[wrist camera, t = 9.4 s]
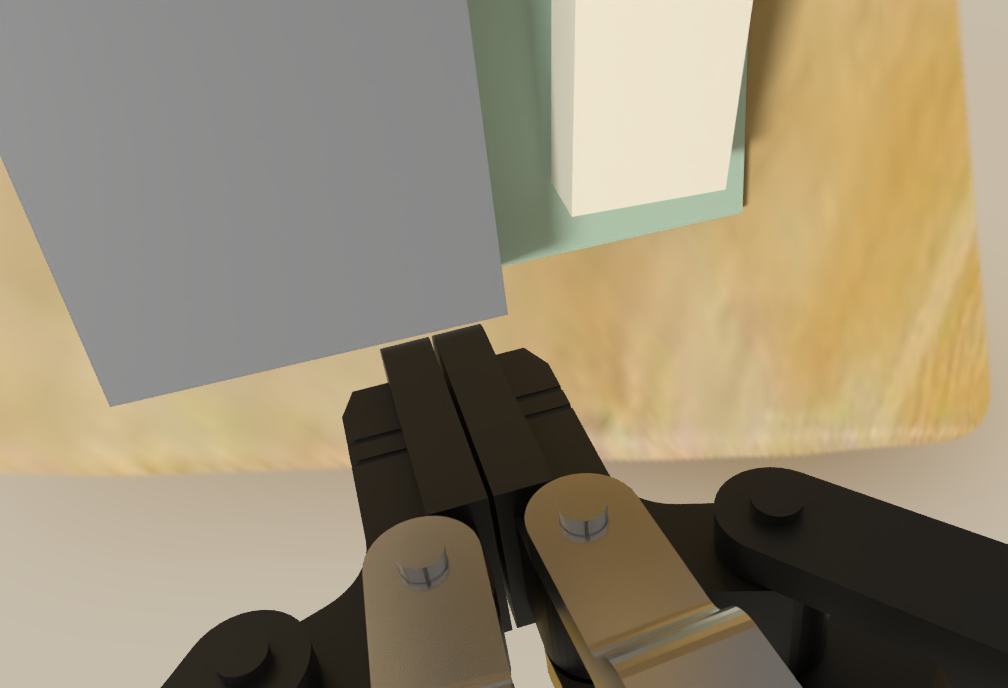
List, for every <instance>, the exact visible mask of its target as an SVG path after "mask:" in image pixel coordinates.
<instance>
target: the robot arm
mask: <svg viewBox="0 0 1008 688" xmlns="http://www.w3.org/2000/svg"><path fill="white" fill-rule="evenodd" d="M432 341H433V347H434V349H433V347H432V344H431V341H430V339H429V337H427V338H423V339H419V340H415V341H411V342H407V343H403V344H399V345H395V346H391V347H387V348H383V349H380V351H381V356H382V360H383V364H384V368H385V372H386V376H387V381H388V383H385V384H382V385H378V386H374V387H370V388H366V389H362V390H358V391H354V392H352V395H351V397H350V400H349V402H348V405H347V407H346V409H345V412H344V414H343V417H342V419H343V424H344V429H345V434H346V440H347V444H348V450H349V455H350V460H351V465H352V471H353V476H354V481H355V486H356V491H357V497H358V502H359V507H360V513H361V517H362V523H363V527H364V533H365V538H366V547H367V552H366V556H365V559H364V563H363V567H362V569H361V571H360V573H359V575H358V577H357V578H356V580H355V581H354V583H353V584H352V585H351V586H350V587H349V588H348V589H347V590H346V591H345V592H344V593H343V594H342V595H341V596H340V597H339V598H337V599H336V600H335V601H333V602H332V603H330V604H329V605H327V606H326V607H324V608H323V609H321V610H319V611H318V612H316V613H314V614H312V615H311V616H309V617H307V618H306V619H304V620H302V621H300V622H299V621H298V620H297V619H295V618H294V617H292V616H291V615H288V614H286V613H283V612H279V611H274V610H259V611H251V612H247V613H243V614H240V615H237V616H235V617H232V618H229V619H228V620H226V621H224V622H222V623H220V624H219V625H217V626H216V627H214V628H213V629H211V630H210V631H209V632H208V633H206V634H205V635H204V636H203V637H202V638H201V639H200V640H199V641H198V642H197V643H196V644H195V646H194V647H193V648H192V649H191V651H190V652H189V653H188V654H187V655H186V657H185V658H184V659H183V660H182V662H181V663H180V664H179V666H178V667H177V668H176V669H175V671H174V672H173V673H172V675H171V676H170V677H169V678H168V679H167V681H166V682H165V683H164V684H163V686H162V687H161V688H515V687H514V684H513V683H512V678H511V666H510V661H509V655H508V650H507V645H506V640H505V635H504V632H507V631H510V630H512V625H511V620H510V614H509V609H508V603H507V600H508V602H509V605H510V608H511V611H512V614H513V617H514V620H515V623H516V626H517V628H519V627H522V626H526V625H529V624H532V623H536V625H537V628H538V630H539V633H540V636H541V639H542V641H543V644H544V648H545V654H546V660H547V667H548V673H549V675H550V678H551V681H552V683H553V685H554V687H555V688H1008V544H1005V543H1002V542H999V541H996V540H994V539H991V538H988V537H985V536H982V535H979V534H976V533H973V532H971V531H968V530H965V529H962V528H959V527H956V526H953V525H950V524H948V523H945V522H942V521H939V520H936V519H933V518H930V517H927V516H924V515H922V514H919V513H916V512H913V511H910V510H907V509H904V508H902V507H899V506H896V505H893V504H890V503H887V502H884V501H881V500H878V499H875V498H873V497H870V496H867V495H864V494H861V493H858V492H855V491H852V490H850V489H847V488H844V487H841V486H838V485H835V484H832V483H830V482H827V481H824V480H821V479H818V478H815V477H812V476H809V475H806V474H804V473H801V472H797V471H794V470H790V469H784V468H774V467H772V468H771V467H766V468H756V469H752V470H748V471H744V472H741V473H739V474H737V475H735V476H733V477H732V478H730V479H729V480H728V481H726V482H725V483H724V484H723V485H722V486H721V488H720V489H719V491H718V492H717V494H716V498H715V501H714V503H706V504H663V503H656V502H652V501H648V500H644V499H642V498H639V497H638V496H637V495H636V494H635V492H633V490H632V489H631V488H630V487H628V486H627V485H626V484H624V483H623V482H621V481H619V480H617V479H615V478H612V477H610V475H609V474H608V472H607V470H606V469H605V466H604V465H603V463H602V461H601V459H600V457H599V456H598V454H597V452H596V450H595V448H594V446H593V445H592V443H591V441H590V439H589V437H588V435H587V434H586V432H585V430H584V428H583V426H582V425H581V423H580V421H579V419H578V417H577V415H576V414H575V412H574V410H573V408H571V406H570V403H569V401H568V399H567V397H566V395H565V393H564V392H563V390H561V387H560V384H559V383H558V381H557V379H556V377H555V375H554V373H553V372H552V370H551V368H550V366H549V364H548V363H546V362H545V361H543V360H542V359H540V358H539V357H537V356H536V355H534V354H533V353H531V352H530V351H528V350H526V349H525V348H521V349H517V350H513V351H509V352H505V353H501V354H498V355H496V354H495V352H494V350H493V348H492V346H491V344H490V342H489V339H488V337H487V335H486V333H485V331H484V329H483V327H482V325H481V324H478V325H474V326H470V327H466V328H462V329H458V330H454V331H450V332H446V333H442V334H438V335H434V336H432ZM506 597H507V598H506Z"/></svg>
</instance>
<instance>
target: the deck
mask: <svg viewBox="0 0 1008 688" xmlns="http://www.w3.org/2000/svg"><path fill="white" fill-rule="evenodd" d="M0 156H1V158H2V161H3V163H4V165H5V167H6V170H7V172H8V174H9V177H10V179H11V181H12V183H13V186H14V188H15V190H16V193H17V195H18V197H19V199H20V202H21V204H22V206H23V209H24V211H25V213H26V215H27V218H28V220H29V222H30V225H31V227H32V229H33V232H34V234H35V236H36V238H37V241H38V243H39V245H40V248H41V250H42V252H43V254H44V257H45V259H46V261H47V264H48V266H49V268H50V270H51V273H52V275H53V277H54V280H55V282H56V284H57V286H58V289H59V291H60V293H61V296H62V298H63V300H64V302H65V305H66V307H67V309H68V312H69V314H70V316H71V318H72V321H73V323H74V325H75V328H76V330H77V332H78V335H79V337H80V339H81V341H82V344H83V346H84V348H85V351H86V353H87V355H88V357H89V360H90V362H91V364H92V367H93V369H94V371H95V373H96V376H97V378H98V380H99V383H100V385H101V387H102V389H103V392H104V394H105V396H106V399H107V401H108V403H109V405H110V407H112V406H117V405H121V404H125V403H130V402H134V401H138V400H142V399H147V398H151V397H155V396H160V395H164V394H168V393H173V392H177V391H181V390H185V389H190V388H194V387H198V386H203V385H207V384H211V383H216V382H220V381H224V380H228V379H233V378H237V377H241V376H246V375H250V374H254V373H259V372H263V371H267V370H271V369H276V368H280V367H284V366H289V365H293V364H297V363H302V362H306V361H310V360H314V359H319V358H323V357H327V356H332V355H336V354H340V353H345V352H349V351H353V350H357V349H362V348H366V347H370V346H375V345H379V344H383V343H388V342H392V341H396V340H400V339H405V338H409V337H413V336H418V335H422V334H426V333H431V332H435V331H439V330H443V329H448V328H452V327H456V326H461V325H465V324H469V323H474V322H478V321H482V320H486V319H491V318H495V317H499V316H504V315H508V313H507V305H506V298H505V290H504V282H503V275H502V267H501V259H500V251H499V244H498V236H497V228H496V221H495V213H494V205H493V197H492V190H491V182H490V174H489V166H488V159H487V151H486V143H485V136H484V128H483V120H482V112H481V105H480V97H479V89H478V82H477V74H476V66H475V58H474V51H473V43H472V35H471V28H470V20H469V12H468V4H467V0H0Z"/></svg>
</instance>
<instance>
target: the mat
mask: <svg viewBox="0 0 1008 688" xmlns="http://www.w3.org/2000/svg"><path fill="white" fill-rule="evenodd" d="M467 4H468V12H469V20H470V28H471V35H472V43H473V51H474V58H475V66H476V74H477V82H478V89H479V97H480V105H481V112H482V120H483V128H484V136H485V143H486V151H487V159H488V166H489V174H490V182H491V190H492V197H493V205H494V213H495V221H496V228H497V236H498V244H499V251H500V259H501V267H502V266H507V265H511V264H516V263H520V262H525V261H529V260H534V259H538V258H543V257H547V256H552V255H556V254H560V253H565V252H569V251H574V250H578V249H583V248H587V247H592V246H596V245H601V244H605V243H610V242H614V241H618V240H623V239H627V238H632V237H636V236H641V235H645V234H650V233H654V232H659V231H663V230H668V229H672V228H676V227H681V226H685V225H690V224H694V223H699V222H703V221H708V220H712V219H717V218H721V217H726V216H730V215H734V214H739V213H742V210H743V180H744V149H745V119H746V88H747V58H748V39H747V46H746V53H745V60H744V67H743V74H742V81H741V87H740V94H739V101H738V108H737V115H736V122H735V129H734V136H733V142H732V149H731V156H730V163H729V170H728V177H727V184H726V190H720V191H715V192H709V193H703V194H698V195H692V196H687V197H681V198H675V199H670V200H664V201H659V202H653V203H647V204H642V205H636V206H631V207H625V208H619V209H614V210H608V211H602V212H597V213H591V214H586V215H580V216H574V217H572V216H571V215H570V213H569V211H568V210H567V208H566V206H565V205H564V203H563V201H562V200H561V198H560V196H559V194H558V193H557V191H556V189H555V188H554V186H553V184H552V183H551V0H467Z"/></svg>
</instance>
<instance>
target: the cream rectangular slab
mask: <svg viewBox="0 0 1008 688" xmlns="http://www.w3.org/2000/svg"><path fill="white" fill-rule="evenodd" d="M752 5H753V0H551V183H552V184H553V186H554V188H555V189H556V191H557V193H558V194H559V196H560V198H561V200H562V201H563V203H564V205H565V206H566V208H567V210H568V211H569V213H570V215H571V216H572V217H574V216H580V215H586V214H591V213H597V212H602V211H608V210H614V209H619V208H625V207H631V206H636V205H642V204H647V203H653V202H659V201H664V200H670V199H675V198H681V197H687V196H692V195H698V194H703V193H709V192H715V191H720V190H726V184H727V177H728V170H729V163H730V156H731V149H732V142H733V136H734V129H735V122H736V115H737V108H738V101H739V94H740V87H741V81H742V74H743V67H744V60H745V53H746V46H747V39H748V32H749V26H750V19H751V12H752Z"/></svg>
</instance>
